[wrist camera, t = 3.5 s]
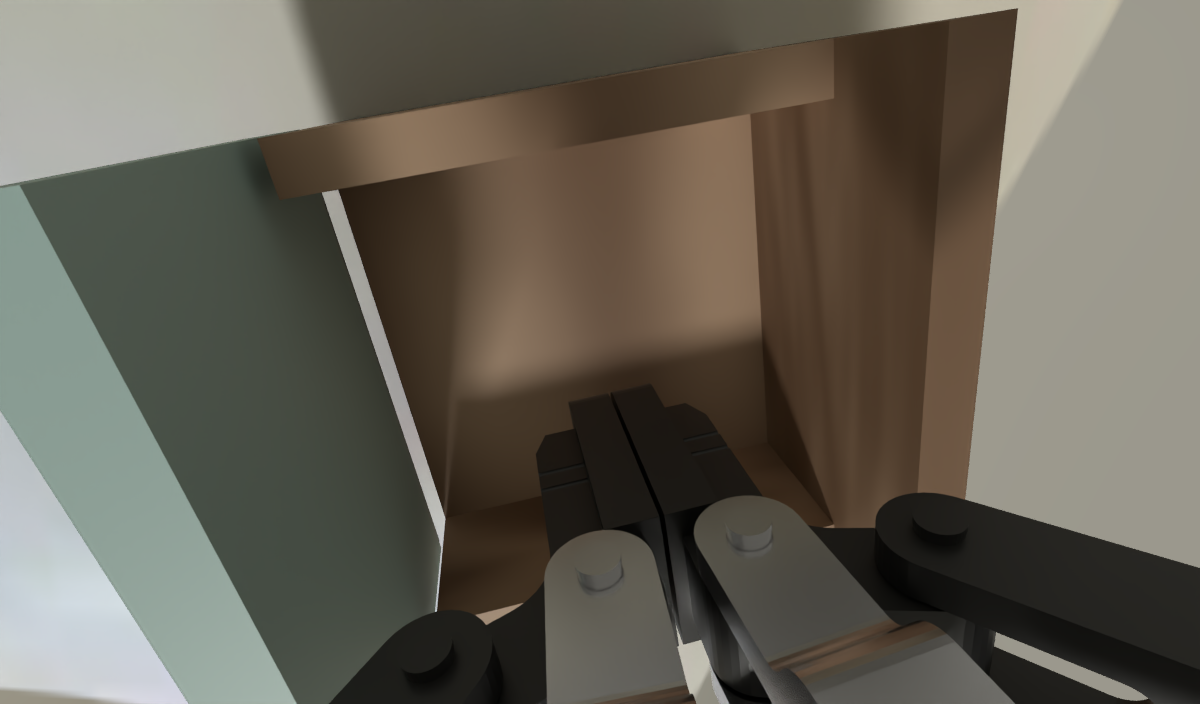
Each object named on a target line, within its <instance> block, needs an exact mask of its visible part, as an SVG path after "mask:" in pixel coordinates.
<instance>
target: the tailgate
mask: <svg viewBox="0 0 1200 704" xmlns="http://www.w3.org/2000/svg"><path fill="white" fill-rule="evenodd" d="M294 131H297V130H294ZM288 132H292V131H288ZM283 133H287V132H283ZM277 134H282V133H277ZM277 134H271V135H265V136H260V137H254V138H248V139H242V140H237V141H232V142H227V143H222V144H216V145H211V146H206V147H201V148H196V149H191V150H185V151H180V152H175V153H170V154H165V155H159V156H154V157H149V158H144V159H139V160H133V161H128V162H123V163H118V164H113V165H107V166H102V167H97V168H92V169H87V170H81V171H76V172H71V173H66V174H61V175H55V176H50V177H45V178H40V179H35V180H29V181H24V182H19V183H14V184H9V185H3V186H0V411H1V412H2V414H3V416H4V417H5V419H6V420H7V422H8V423H9V425H10V426H11V428H12V430H13V431H14V433H15V434H16V436H17V437H18V439H19V440H20V442H21V444H22V445H23V447H24V448H25V450H26V451H27V453H28V454H29V456H30V458H31V459H32V461H33V462H34V464H35V465H36V467H37V468H38V470H39V472H40V473H41V475H42V476H43V478H44V479H45V481H46V483H47V484H48V486H49V487H50V489H51V490H52V492H53V493H54V495H55V497H56V498H57V500H58V501H59V503H60V504H61V506H62V507H63V509H64V511H65V512H66V514H67V515H68V517H69V518H70V520H71V521H72V523H73V525H74V526H75V528H76V529H77V531H78V532H79V534H80V535H81V537H82V539H83V540H84V542H85V543H86V545H87V546H88V548H89V549H90V551H91V553H92V554H93V556H94V557H95V559H96V560H97V562H98V563H99V565H100V567H101V568H102V570H103V571H104V573H105V574H106V576H107V577H108V579H109V581H110V582H111V584H112V585H113V587H114V588H115V590H116V592H117V593H118V595H119V596H120V598H121V599H122V601H123V602H124V604H125V606H126V607H127V609H128V610H129V612H130V613H131V615H132V616H133V618H134V620H135V621H136V623H137V624H138V626H139V627H140V629H141V630H142V632H143V634H144V635H145V637H146V638H147V640H148V641H149V643H150V644H151V646H152V648H153V649H154V651H155V652H156V654H157V655H158V657H159V658H160V660H161V662H162V663H163V665H164V666H165V668H166V669H167V671H168V672H169V674H170V676H171V677H172V679H173V680H174V682H175V683H176V685H177V686H178V688H179V690H180V691H181V693H182V694H183V696H184V697H185V699H186V701H187V702H188V704H329V703H330V702H331V701H332V700H333V699H334V697H335V696H336V695H337V694H338V693H339V692H340V691H341V690H342V689H343V688H344V687H345V686H346V684H347V683H348V682H349V681H350V680H351V679H352V678H353V677H354V676H355V675H356V674H357V672H358V671H359V670H360V669H361V668H362V667H363V666H364V665H365V664H366V663H367V662H368V660H369V659H370V658H371V657H372V656H373V655H374V654H375V653H376V652H377V651H378V650H379V648H380V647H381V646H382V645H383V644H384V643H385V642H386V641H387V640H388V639H389V638H390V637H391V636H392V635H393V634H394V633H396V632H397V631H398V630H399V629H401V628H402V627H403V626H405V625H407V624H408V623H410V622H412V621H413V620H415V619H418V618H420V617H422V616H424V615H427V614H430V613H434V612H435V605H436V594H437V584H438V574H439V563H440V553H441V546H440V543H439V538H438V535H437V532H436V529H435V526H434V523H433V520H432V517H431V514H430V511H429V509H428V506H427V503H426V500H425V497H424V494H423V491H422V488H421V485H420V482H419V479H418V476H417V473H416V470H415V467H414V464H413V461H412V458H411V455H410V452H409V449H408V446H407V443H406V440H405V438H404V435H403V432H402V429H401V426H400V423H399V420H398V417H397V414H396V411H395V408H394V405H393V402H392V399H391V396H390V393H389V390H388V387H387V384H386V381H385V378H384V375H383V372H382V370H381V367H380V364H379V361H378V358H377V355H376V352H375V349H374V346H373V343H372V340H371V337H370V334H369V331H368V328H367V325H366V322H365V319H364V316H363V313H362V310H361V307H360V304H359V301H358V299H357V296H356V293H355V290H354V287H353V284H352V281H351V278H350V275H349V272H348V269H347V266H346V263H345V260H344V257H343V254H342V251H341V248H340V245H339V242H338V239H337V236H336V233H335V231H334V228H333V225H332V222H331V219H330V216H329V213H328V210H327V207H326V204H325V201H324V198H323V195H322V192H321V193H316V194H310V195H305V196H300V197H294V198H289V199H283V200H279V197H278V195H277V192H276V189H275V186H274V184H273V181H272V178H271V176H270V173H269V170H268V167H267V165H266V162H265V159H264V157H263V154H262V151H261V148H260V146H259V143H258V140H257V139H258V138H263V137H268V136H272V135H277Z"/></svg>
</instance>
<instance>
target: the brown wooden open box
mask: <svg viewBox="0 0 1200 704" xmlns="http://www.w3.org/2000/svg"><path fill="white" fill-rule="evenodd" d="M1017 12H1018V8H1017V9H1011V10H1005V11H998V12H992V13H986V14H979V15H973V16H967V17H960V18H954V19H948V20H941V21H935V22H929V23H922V24H916V25H910V26H904V27H897V28H891V29H885V30H878V31H872V32H866V33H859V34H853V35H847V36H840V37H834V38H828V39H821V40H815V41H809V42H803V43H796V44H790V45H784V46H777V47H771V48H765V49H758V50H752V51H746V52H739V53H734V54H728V55H722V56H716V57H711V58H705V59H699V60H693V61H688V62H682V63H676V64H670V65H664V66H659V67H653V68H647V69H641V70H636V71H630V72H624V73H618V74H613V75H607V76H601V77H595V78H590V79H584V80H578V81H572V82H566V83H561V84H555V85H549V86H543V87H538V88H532V89H526V90H520V91H515V92H509V93H503V94H497V95H492V96H486V97H480V98H474V99H468V100H463V101H457V102H451V103H445V104H440V105H434V106H428V107H422V108H417V109H411V110H405V111H399V112H394V113H388V114H382V115H376V116H370V117H365V118H359V119H353V120H347V121H342V122H337V123H332V124H327V125H322V126H317V127H312V128H307V129H302V130H297V131H292V132H287V133H282V134H277V135H272V136H268V137H263V138H258V139H257V140H258V143H259V146H260V148H261V151H262V154H263V157H264V159H265V162H266V165H267V167H268V170H269V173H270V176H271V178H272V181H273V184H274V186H275V189H276V192H277V195H278V197H279V200H283V199H289V198H294V197H300V196H305V195H310V194H316V193H321V192H327V191H332V190H339V193H340V196H341V199H342V202H343V205H344V208H345V211H346V215H347V218H348V221H349V224H350V227H351V230H352V233H353V236H354V239H355V242H356V245H357V248H358V251H359V254H360V257H361V260H362V264H363V267H364V270H365V273H366V276H367V279H368V282H369V285H370V288H371V291H372V294H373V297H374V300H375V303H376V306H377V309H378V313H379V316H380V319H381V322H382V325H383V328H384V331H385V334H386V337H387V340H388V343H389V346H390V349H391V352H392V355H393V359H394V362H395V365H396V368H397V371H398V374H399V377H400V380H401V383H402V386H403V389H404V392H405V395H406V398H407V401H408V404H409V408H410V411H411V414H412V417H413V420H414V423H415V426H416V429H417V432H418V435H419V438H420V441H421V444H422V447H423V450H424V453H425V457H426V460H427V463H428V466H429V469H430V472H431V475H432V478H433V481H434V484H435V487H436V490H437V493H438V496H439V499H440V502H441V506H442V509H443V512H444V515H445V518H446V520H445V531H444V542H443V553H442V564H441V574H440V585H439V596H438V607H437V612H438V611H444V610H461V611H465V612H469V613H471V614H474V615H476V616H477V617H479V618H480V619H481V620H482V621H483V622H484V623H485V624H486V625H487V624H489V623H491V622H493V621H494V620H496V619H498V618H500V617H502V616H503V615H505V614H507V613H509V612H511V611H512V610H514V609H516V608H517V607H519V606H520V605H522V604H523V603H524V602H525V601H527V600H528V599H529V598H530V597H531V596H532V595H533V594H534V593H535V592H536V591H537V590H538V588H539V587H540V586H541V585H542V583H543V581H544V578H545V571H546V567H547V565H548V563H549V561H550V550H549V544H548V537H547V530H546V523H545V516H544V509H543V502H542V495H541V488H540V481H539V474H538V467H537V460H536V453H537V451H538V449H539V447H540V445H541V443H542V441H543V439H544V437H545V435H549V434H553V433H558V432H562V431H566V430H571V429H573V424H572V419H571V414H570V409H569V403H568V402H569V401H574V400H578V399H582V398H587V397H591V396H596V395H600V394H604V393H608V394H609V396H610V393H611V392H613V391H617V390H622V389H626V388H630V387H635V386H639V385H644V384H648V383H650V384H651V385H652V386H653V388H654V390H655V391H656V393H657V395H658V397H659V398H660V400H661V402H662V404H663V405H664V407H670V406H674V405H678V404H683V403H686V404H688V405H690V406H692V407H694V408H696V409H698V410H699V411H701V412H703V413H705V414H706V415H707V416H708V417H709V419H710V420H711V422H712V423H713V425H714V426H715V428H716V429H717V430H718V434H720V435H721V436H722V438H723V439H724V441H725V442H726V443H727V447H728V448H730V449H731V451H732V452H733V454H734V455H735V457H736V458H737V459H738V461H739V462H740V464H741V465H742V467H743V468H744V470H745V471H746V472H747V474H748V475H749V477H750V478H751V480H752V481H753V483H754V484H755V485H756V487H757V488H758V490H759V491H760V493H761V494H762V496H763V497H766V498H770V499H773V500H776V501H779V502H781V503H783V504H785V505H787V506H788V507H790V508H791V509H793V510H794V511H795V512H796V513H797V514H798V515H799V516H800V517H801V518H802V520H803V521H804V522H805V523H806V524H807V525H811V526H816V527H823V528H875V520H876V515H877V513H878V511H879V509H880V508H881V507H882V506H883V505H884V504H885V503H886V502H888V501H889V500H891V499H893V498H895V497H898V496H901V495H904V494H910V493H922V492H927V493H939V494H945V495H950V496H954V497H958V498H961V499H964V500H965V495H966V486H967V477H968V467H969V458H970V448H971V438H972V430H973V420H974V412H975V402H976V393H977V384H978V374H979V365H980V356H981V347H982V337H983V327H984V318H985V309H986V300H987V291H988V281H989V272H990V263H991V254H992V244H993V235H994V226H995V216H996V207H997V198H998V189H999V179H1000V170H1001V161H1002V151H1003V142H1004V133H1005V124H1006V114H1007V105H1008V96H1009V86H1010V77H1011V68H1012V59H1013V49H1014V40H1015V31H1016V21H1017ZM610 398H611V396H610Z"/></svg>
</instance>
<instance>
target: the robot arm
mask: <svg viewBox="0 0 1200 704" xmlns="http://www.w3.org/2000/svg"><path fill="white" fill-rule="evenodd" d="M610 396H611V398H610ZM610 396H609V394H608V393H604V394H600V395H596V396H591V397H587V398H582V399H578V400H574V401H569V402H568V403H569V409H570V414H571V419H572V424H573V429H571V430H566V431H562V432H558V433H553V434H549V435H545V437H544V439H543V441H542V443H541V445H540V447H539V449H538V451H537V453H536V460H537V467H538V474H539V481H540V488H541V495H542V502H543V509H544V516H545V523H546V530H547V537H548V544H549V550H550V561H549V563H548V565H547V567H546V571H545V578H544V581H543V583H542V585H541V586H540V587H539V588H538V590H537V591H536V592H535V593H534V594H533V595H532V596H531V597H530V598H529V599H528V600H527V601H525V602H524V603H523V604H522V605H520V606H519V607H517V608H516V609H514V610H512V611H511V612H509V613H507V614H505V615H503V616H502V617H500V618H498V619H496V620H494V621H493V622H491V623H489V624H487V625H486V624H485V623H484V622H483V621H482V620H481V619H480V618H479V617H477V616H476V615H474V614H471V613H469V612H465V611H461V610H444V611H438V612H434V613H430V614H427V615H424V616H422V617H420V618H418V619H415V620H413V621H412V622H410V623H408V624H407V625H405V626H403V627H402V628H401V629H399V630H398V631H397V632H396V633H394V634H393V635H392V636H391V637H390V638H389V639H388V640H387V641H386V642H385V643H384V644H383V645H382V646H381V647H380V648H379V650H378V651H377V652H376V653H375V654H374V655H373V656H372V657H371V658H370V659H369V660H368V662H367V663H366V664H365V665H364V666H363V667H362V668H361V669H360V670H359V671H358V672H357V674H356V675H355V676H354V677H353V678H352V679H351V680H350V681H349V682H348V683H347V684H346V686H345V687H344V688H343V689H342V690H341V691H340V692H339V693H338V694H337V695H336V696H335V697H334V699H333V700H332V701H331V702H330V703H329V704H696V701H695V699H694V696H693V694H690V693H689V690H688V687H687V683H686V679H685V675H684V671H683V667H682V663H681V659H680V656H679V652H678V648H677V646H679V644H678V637H677V630H676V626H677V628H678V631H679V634H680V637H681V640H682V642H683V645H684V644H687V643H691V642H695V641H698V640H702V643H703V645H704V648H705V650H706V653H707V655H708V658H709V661H710V669H711V677H712V684H713V689H714V692H715V694H716V697H717V699H718V701H719V703H720V704H1200V568H1198V567H1194V566H1191V565H1187V564H1184V563H1180V562H1177V561H1174V560H1170V559H1167V558H1163V557H1160V556H1157V555H1153V554H1150V553H1146V552H1143V551H1139V550H1136V549H1132V548H1129V547H1125V546H1122V545H1119V544H1115V543H1112V542H1108V541H1105V540H1102V539H1098V538H1095V537H1091V536H1088V535H1085V534H1081V533H1078V532H1074V531H1071V530H1067V529H1064V528H1061V527H1057V526H1054V525H1050V524H1047V523H1043V522H1040V521H1036V520H1033V519H1030V518H1026V517H1023V516H1019V515H1016V514H1012V513H1009V512H1005V511H1002V510H998V509H995V508H992V507H988V506H985V505H982V504H978V503H975V502H971V501H968V500H964V499H961V498H958V497H954V496H950V495H945V494H939V493H927V492H922V493H910V494H904V495H901V496H898V497H895V498H893V499H891V500H889V501H888V502H886V503H885V504H884V505H883V506H882V507H881V508H880V509H879V511H878V513H877V515H876V520H875V528H823V527H816V526H811V525H807V524H806V523H805V522H804V521H803V520H802V518H801V517H800V516H799V515H798V514H797V513H796V512H795V511H794V510H793V509H791V508H790V507H788V506H787V505H785V504H783V503H781V502H779V501H776V500H773V499H770V498H766V497H763V496H762V494H761V493H760V491H759V490H758V488H757V487H756V485H755V484H754V483H753V481H752V480H751V478H750V477H749V475H748V474H747V472H746V471H745V470H744V468H743V467H742V465H741V464H740V462H739V461H738V459H737V458H736V457H735V455H734V454H733V452H732V451H731V449H730V448H728V447H727V443H726V442H725V441H724V439H723V438H722V436H721V435H720V434H718V430H717V429H716V428H715V426H714V425H713V423H712V422H711V420H710V419H709V417H708V416H707V415H706V414H705V413H703V412H701V411H699V410H698V409H696V408H694V407H692V406H690V405H688V404H686V403H683V404H678V405H674V406H670V407H664V405H663V404H662V402H661V400H660V398H659V397H658V395H657V393H656V391H655V390H654V388H653V386H652V385H651V384H650V383H648V384H644V385H639V386H635V387H630V388H626V389H622V390H617V391H613V392H611V393H610ZM675 623H676V624H675ZM996 632H997V633H1000V634H1002V635H1005V636H1007V637H1010V638H1012V639H1014V640H1017V641H1019V642H1022V643H1025V644H1027V645H1029V646H1032V647H1034V648H1037V649H1039V650H1042V651H1044V652H1047V653H1049V654H1051V655H1054V656H1057V657H1059V658H1062V659H1064V660H1066V661H1069V662H1071V663H1074V664H1076V665H1079V666H1081V667H1084V668H1086V669H1088V670H1091V671H1094V672H1096V673H1098V674H1101V675H1103V676H1106V677H1108V678H1111V679H1113V680H1116V681H1118V682H1121V683H1123V684H1125V685H1127V686H1130V687H1132V688H1133V689H1135V690H1137V691H1139V692H1140V693H1142V694H1143V695H1145V696H1146V697H1148V698H1149V699H1146V700H1141V701H1130V700H1124V699H1120V698H1116V697H1114V696H1111V695H1108V694H1106V693H1104V692H1101V691H1099V690H1096V689H1094V688H1091V687H1089V686H1087V685H1085V684H1082V683H1080V682H1077V681H1075V680H1073V679H1070V678H1068V677H1065V676H1063V675H1061V674H1058V673H1056V672H1054V671H1051V670H1049V669H1046V668H1044V667H1041V666H1039V665H1037V664H1034V663H1032V662H1030V661H1027V660H1025V659H1023V658H1020V657H1018V656H1015V655H1013V654H1011V653H1008V652H1006V651H1003V650H1001V649H999V648H996V647H994V642H995V635H996Z"/></svg>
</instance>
